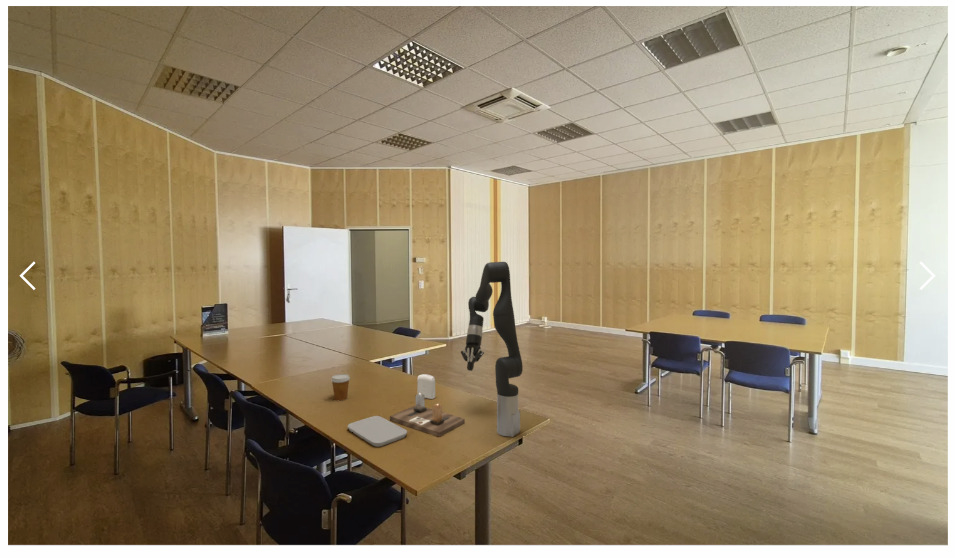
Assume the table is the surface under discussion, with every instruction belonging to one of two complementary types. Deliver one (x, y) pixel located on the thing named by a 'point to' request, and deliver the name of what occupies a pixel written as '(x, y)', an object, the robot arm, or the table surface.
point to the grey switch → (420, 402)
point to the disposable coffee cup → (340, 386)
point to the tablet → (377, 430)
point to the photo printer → (426, 385)
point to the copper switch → (437, 414)
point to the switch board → (427, 421)
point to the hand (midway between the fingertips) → (469, 370)
